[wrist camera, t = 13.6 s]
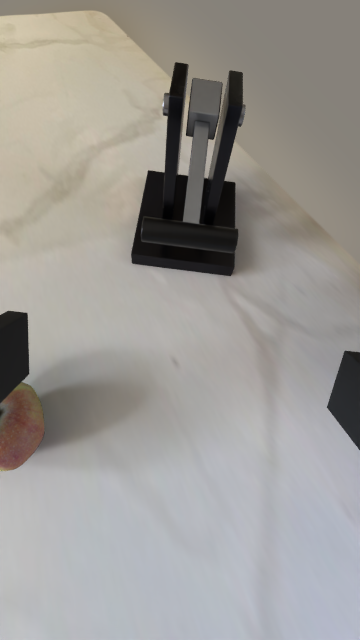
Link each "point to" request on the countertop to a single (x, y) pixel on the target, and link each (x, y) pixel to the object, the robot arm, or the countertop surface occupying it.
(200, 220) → the black lever stand
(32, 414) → the apple
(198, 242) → the lever
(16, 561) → the countertop surface
